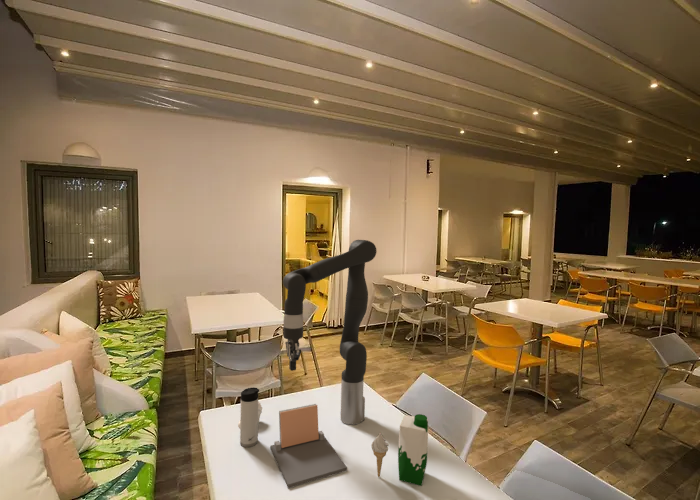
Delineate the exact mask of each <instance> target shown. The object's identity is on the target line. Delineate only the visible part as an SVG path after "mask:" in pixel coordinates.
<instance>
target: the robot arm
mask: <svg viewBox="0 0 700 500" xmlns="http://www.w3.org/2000/svg"><path fill="white" fill-rule="evenodd" d="M376 255H377V247H376V245H375V243H374V242H372V241H370V240H367V239H366V240H365V239H355V240H353V241H352V242H351V243H350V245H349V248H348V250H347V251H346V252H343V253H342V254H341V253H340V254H338V255H334V256H331V257H327V258H323V259H321V260H318V261H317V262H315V263H312V264H310V265H308V266H306V267H302V268H299V269H296V270H293V271H290V272H288V273H287V274H285V275H284V277H283V280H282V285H283V287H284V288H285V289H286V290H287V296H286V297H287V298H286V299H285V300H284V306H283V307H284V313H283V315H284V316H283V328H282V329H283V335H282V336H283V338H284V339H285V340H287V341H285V343H284V344H285V349H286V355H287V357H288V361H289V363H288V367H289V368H288V369H289V370H290V371H292V372H294V371H296V370H297V361H299V360H300V357H301V354H302V349H300V345H301V344H300V341H299V340H300V339H302V338H303V337H304V299H305V294H306V290H307V289H306V287H307V285H308V284H312V283H313V284H314V283H318V282H319V281H322V280H324V279H326V278H328V277H330V276H332V275H334V274H336V273H339V272H341V271H344V270H346V269H348V272H347V273H348V275H347V286H346V295H345V306H344V318H343V327H342V333H341V338H340V344H339V354H340V356H341V358H342V359H343V360H345V369H344V370H342V371H341V389H340V390H341V391H340V421H341V422H342V423H344V424H345V425H358V424H360V423H362V422H363V421H365V414H366V413H365V412H366V411H365V410H366V409H365V408H366V407H365V406H366V398H365V396H364V378H365V374H366V371H367V370H366V369H367V357H368V356H367V355H368V354H367V353H368V351H367V349H366V347H365V345H364V344H362V343H361V342H360V341H359V332H360V327H361V324H362V321H363V320H364V318H365V315H366V313H367V309H368V303H369V302H368V301H369V291H368V285H367V281H366V278H365V276H366V275H365V267H366V263H369V262H372V260H374V259H375V257H376Z"/></svg>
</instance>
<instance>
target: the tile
mask: <svg viewBox="0 0 700 500" xmlns="http://www.w3.org/2000/svg"><path fill="white" fill-rule="evenodd" d="M278 417H279V418H278V419H279V420H278V421H279V442H280V444H281V448H284V447H288V446H292V445H296V444H300V443H305V442H309V441H313V440H317V439H319V432H318V431H319V409H318V404H317V403H314V404H308V405H307V404H306V405H304V406H303V405H302V406H297V407H294V408H288V409H283V410H279V411H278Z"/></svg>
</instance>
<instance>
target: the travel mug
mask: <svg viewBox="0 0 700 500" xmlns="http://www.w3.org/2000/svg"><path fill="white" fill-rule="evenodd" d="M259 392H260V389H259V388H258V387H248V388H244V389H243V390H242V391H241V392H240V416H239V417H240V419H239V421H240V429H239V430H240V431H239V434H240V435H239V438H240V439H239V443H240V444H239V445H241V446H242V447H244V448H251V447H253V446H255V445H257V444H258V441H259V423H258V402H259Z"/></svg>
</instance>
